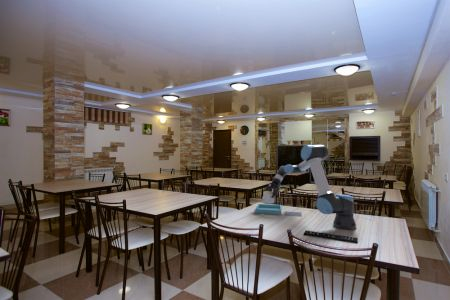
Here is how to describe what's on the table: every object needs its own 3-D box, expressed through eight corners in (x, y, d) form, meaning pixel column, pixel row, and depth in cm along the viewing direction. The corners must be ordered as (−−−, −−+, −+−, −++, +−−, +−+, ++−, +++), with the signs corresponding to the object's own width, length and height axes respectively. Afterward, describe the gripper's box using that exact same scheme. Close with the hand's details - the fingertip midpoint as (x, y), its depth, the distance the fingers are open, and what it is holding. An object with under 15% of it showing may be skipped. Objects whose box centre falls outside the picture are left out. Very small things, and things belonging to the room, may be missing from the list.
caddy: (268, 201, 234) (268, 190, 234) (274, 202, 229) (274, 191, 229) (263, 202, 230) (263, 191, 230) (269, 204, 225) (269, 192, 224)
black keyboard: (305, 232, 174) (305, 229, 174) (357, 240, 159) (357, 237, 159) (303, 235, 168) (303, 232, 167) (357, 244, 152) (357, 241, 152)
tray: (281, 215, 216) (281, 210, 216) (255, 213, 221) (255, 209, 221) (281, 209, 237) (281, 205, 237) (258, 208, 242) (258, 203, 242)
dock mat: (301, 217, 210) (301, 216, 210) (284, 216, 213) (284, 215, 213) (301, 213, 223) (301, 212, 223) (284, 212, 227) (284, 211, 227)
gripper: (288, 184, 232) (277, 204, 221) (270, 181, 247) (259, 200, 236) (284, 178, 228) (273, 199, 218) (267, 176, 243) (255, 195, 233)
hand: (266, 199), depth 227 cm, fingers closed on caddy, 7 cm apart
